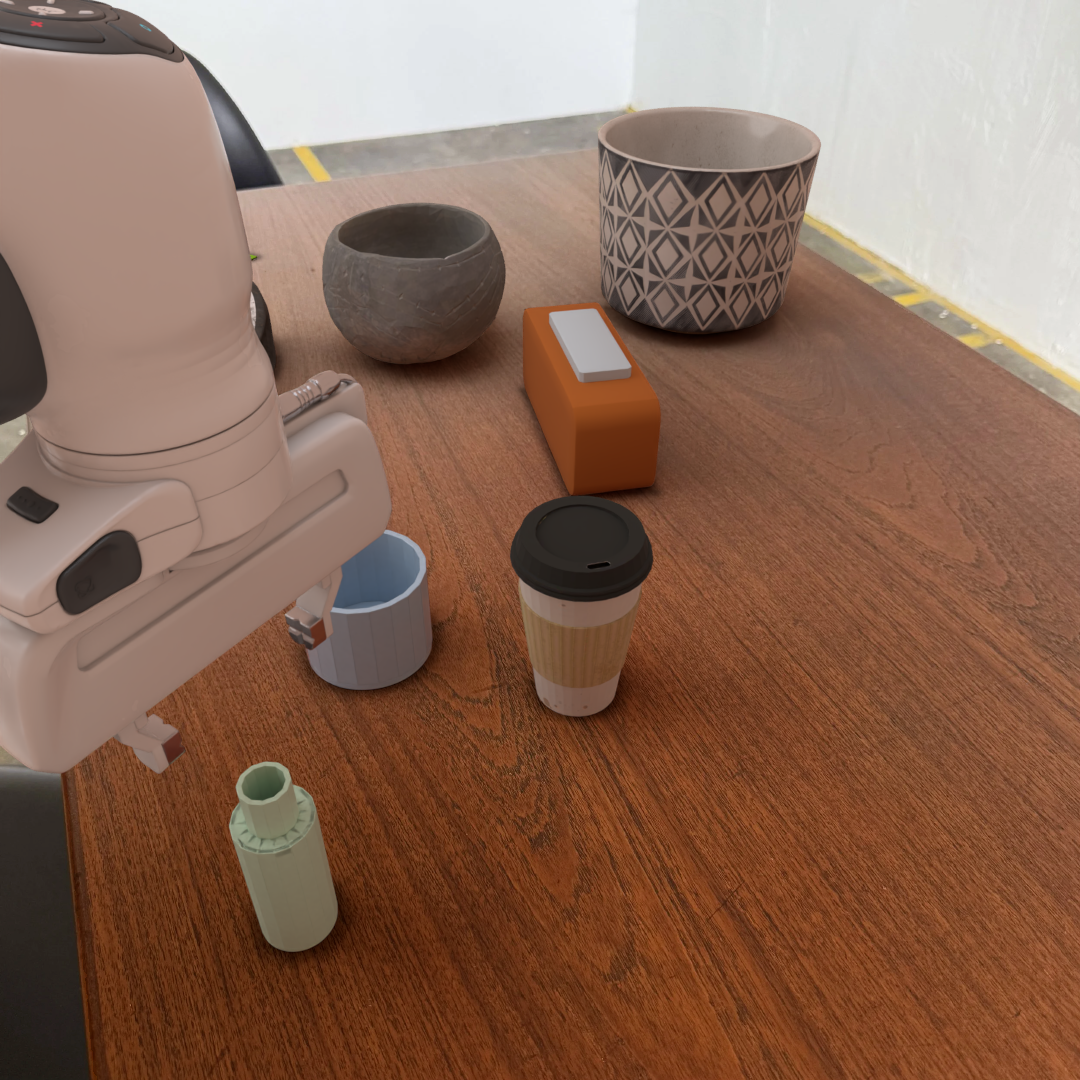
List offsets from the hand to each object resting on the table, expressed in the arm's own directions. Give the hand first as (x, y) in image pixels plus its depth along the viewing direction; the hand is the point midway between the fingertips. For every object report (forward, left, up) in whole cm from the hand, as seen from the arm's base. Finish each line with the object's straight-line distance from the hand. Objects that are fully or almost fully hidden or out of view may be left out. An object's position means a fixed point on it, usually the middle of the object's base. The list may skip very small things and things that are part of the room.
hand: (242, 694), depth 47 cm
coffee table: (+10, +68, -20) cm, 72 cm away
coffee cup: (+24, +10, -20) cm, 33 cm away
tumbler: (+11, +21, -20) cm, 31 cm away
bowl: (+32, +68, -20) cm, 78 cm away
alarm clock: (+41, +42, -20) cm, 62 cm away
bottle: (0, 0, -20) cm, 20 cm away
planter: (+68, +64, -20) cm, 95 cm away
